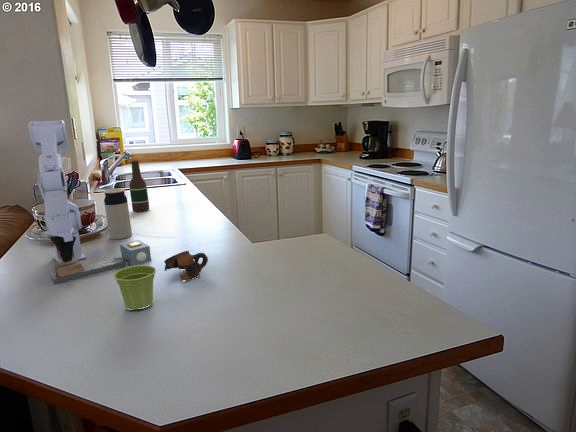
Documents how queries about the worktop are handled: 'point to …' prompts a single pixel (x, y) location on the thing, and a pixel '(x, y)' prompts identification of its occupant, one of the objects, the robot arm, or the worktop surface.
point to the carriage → (67, 266)
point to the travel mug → (117, 213)
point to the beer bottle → (138, 189)
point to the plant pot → (136, 285)
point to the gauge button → (134, 244)
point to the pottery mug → (187, 264)
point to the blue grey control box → (135, 253)
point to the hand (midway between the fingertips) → (66, 260)
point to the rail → (91, 270)
